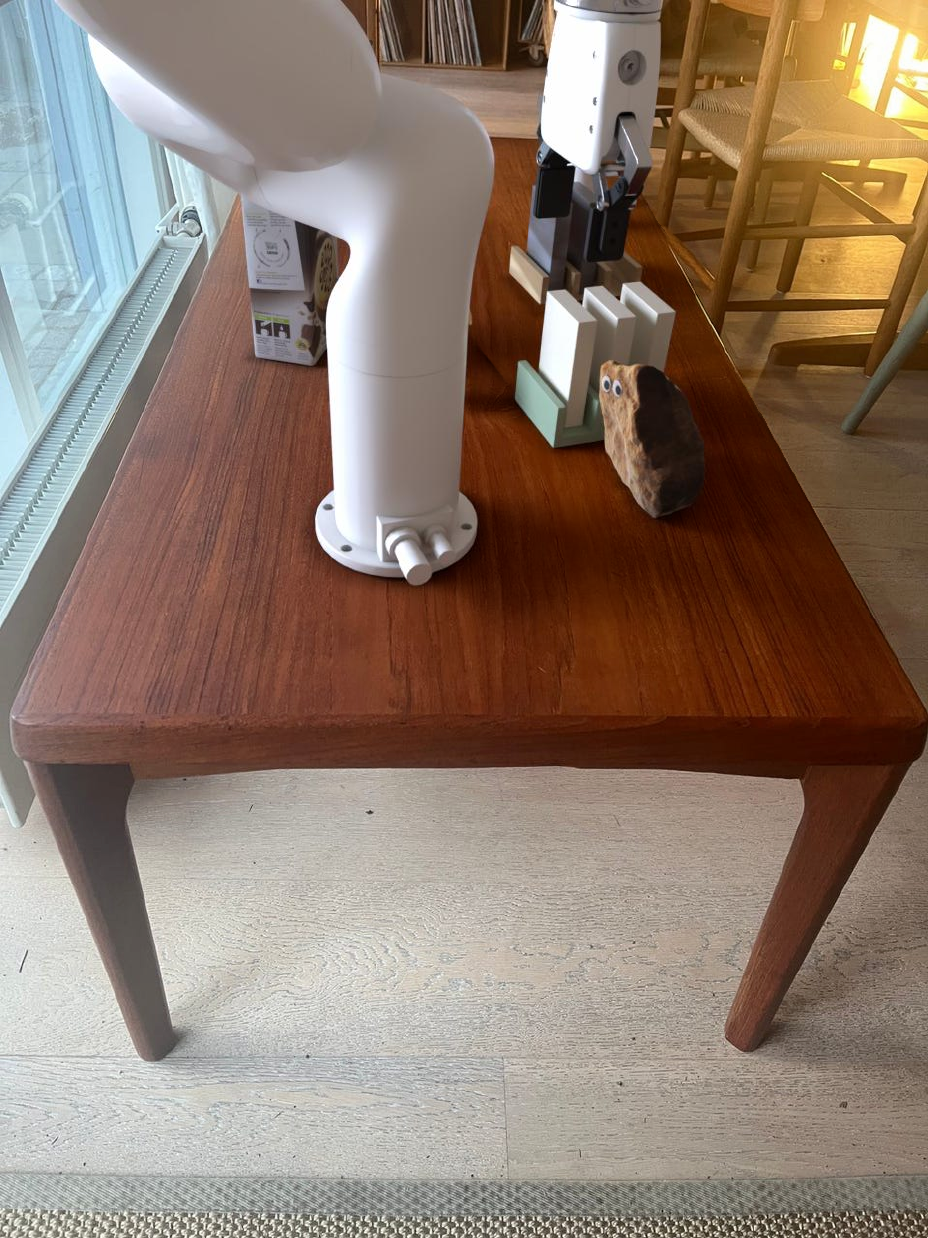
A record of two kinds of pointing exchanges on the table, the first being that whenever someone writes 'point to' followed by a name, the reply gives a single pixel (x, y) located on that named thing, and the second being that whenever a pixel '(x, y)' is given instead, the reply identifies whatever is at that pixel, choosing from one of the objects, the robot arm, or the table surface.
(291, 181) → the robot arm
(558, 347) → the cream book
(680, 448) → the decorative rock
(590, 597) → the table surface
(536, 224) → the wooden rack with slabs
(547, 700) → the table surface
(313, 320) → the coffee box
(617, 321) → the green and white rack
